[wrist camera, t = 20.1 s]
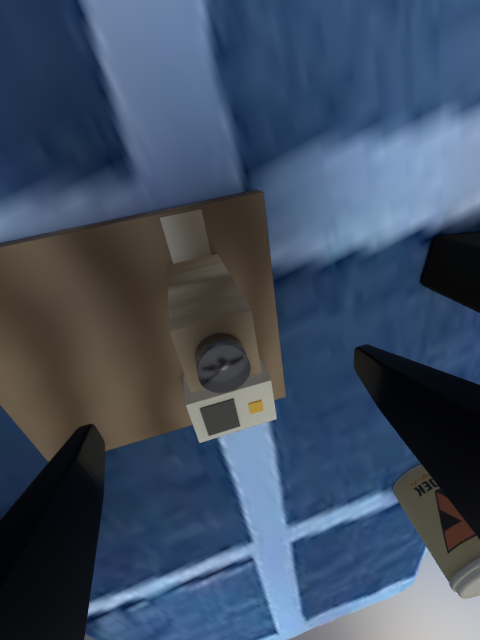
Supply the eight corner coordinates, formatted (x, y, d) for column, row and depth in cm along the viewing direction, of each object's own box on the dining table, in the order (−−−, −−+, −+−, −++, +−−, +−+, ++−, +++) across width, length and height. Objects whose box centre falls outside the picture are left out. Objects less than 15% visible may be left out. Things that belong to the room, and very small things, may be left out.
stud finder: (195, 412, 24) (199, 444, 21) (183, 376, 22) (185, 407, 19) (264, 392, 24) (277, 420, 22) (258, 355, 22) (271, 381, 20)
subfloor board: (58, 451, 24) (52, 468, 23) (-91, 262, 16) (-115, 271, 14) (279, 385, 27) (286, 397, 25) (256, 190, 18) (263, 192, 17)
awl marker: (180, 310, 19) (193, 413, 11) (166, 265, 18) (170, 349, 10) (226, 298, 20) (269, 391, 12) (217, 253, 18) (260, 325, 10)
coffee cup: (450, 450, 41) (546, 546, 31) (436, 487, 46) (515, 580, 35) (391, 470, 40) (471, 577, 29) (383, 505, 44) (450, 608, 34)
